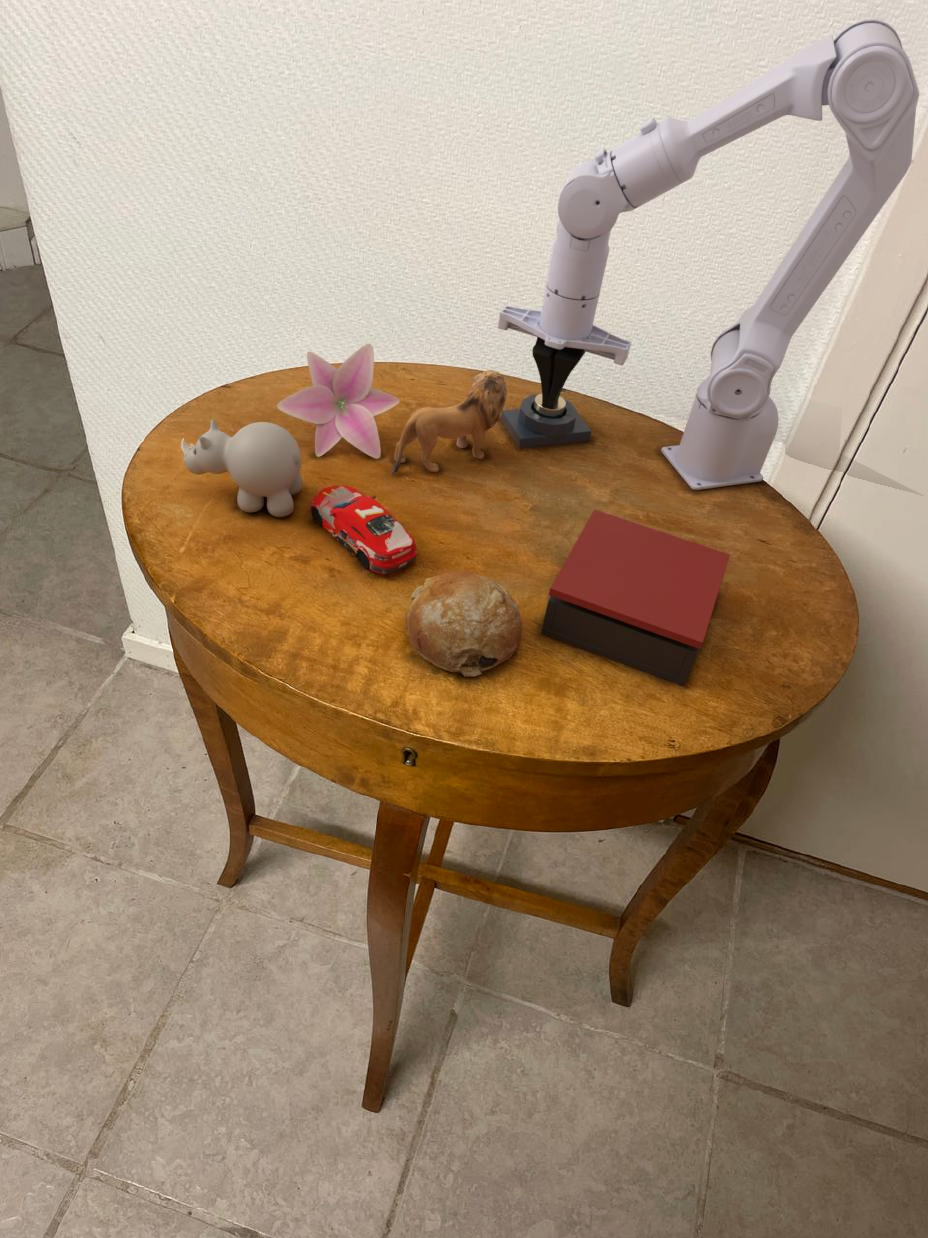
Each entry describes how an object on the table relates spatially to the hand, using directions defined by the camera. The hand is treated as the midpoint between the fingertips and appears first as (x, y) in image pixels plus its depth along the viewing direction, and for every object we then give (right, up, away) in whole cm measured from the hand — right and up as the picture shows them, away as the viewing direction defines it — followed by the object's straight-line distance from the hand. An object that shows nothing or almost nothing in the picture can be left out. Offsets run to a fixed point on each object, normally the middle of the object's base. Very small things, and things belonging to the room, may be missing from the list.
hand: (550, 401), depth 105 cm
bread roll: (-10, -27, -23) cm, 36 cm away
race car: (-20, -17, -14) cm, 30 cm away
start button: (0, -1, +1) cm, 2 cm away
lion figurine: (-12, -7, -3) cm, 14 cm away
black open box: (+6, -24, -18) cm, 31 cm away
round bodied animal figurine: (-32, -13, -12) cm, 37 cm away
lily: (-24, -5, -3) cm, 24 cm away
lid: (+6, -21, -22) cm, 31 cm away
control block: (0, -3, +3) cm, 4 cm away
